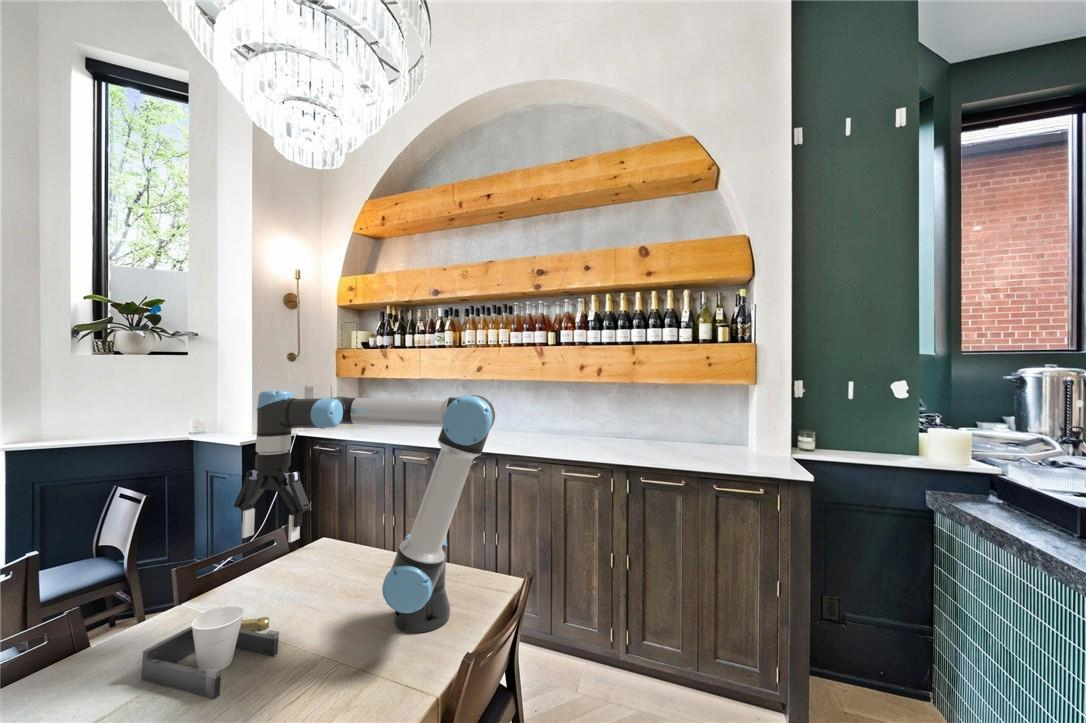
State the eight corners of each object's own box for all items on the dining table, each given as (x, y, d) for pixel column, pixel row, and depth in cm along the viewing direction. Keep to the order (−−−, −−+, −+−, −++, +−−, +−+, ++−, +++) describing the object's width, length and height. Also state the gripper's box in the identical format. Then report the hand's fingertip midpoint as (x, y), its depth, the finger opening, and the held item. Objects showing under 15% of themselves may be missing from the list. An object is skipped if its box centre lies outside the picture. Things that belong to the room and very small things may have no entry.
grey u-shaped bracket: (277, 654, 102) (279, 628, 102) (213, 699, 87) (216, 668, 87) (211, 639, 107) (213, 614, 107) (140, 679, 92) (143, 651, 92)
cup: (234, 647, 104) (237, 601, 104) (247, 665, 98) (251, 616, 98) (181, 668, 96) (185, 617, 97) (192, 688, 90) (197, 634, 91)
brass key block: (270, 624, 114) (270, 616, 115) (266, 629, 112) (267, 621, 112) (240, 627, 113) (241, 619, 113) (236, 633, 110) (236, 625, 110)
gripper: (327, 451, 109) (324, 536, 107) (245, 448, 114) (242, 529, 113) (304, 456, 101) (302, 547, 100) (219, 452, 107) (215, 539, 105)
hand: (270, 538), depth 106 cm, fingers open, 13 cm apart
